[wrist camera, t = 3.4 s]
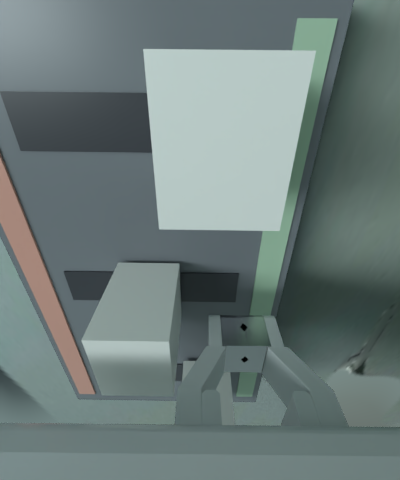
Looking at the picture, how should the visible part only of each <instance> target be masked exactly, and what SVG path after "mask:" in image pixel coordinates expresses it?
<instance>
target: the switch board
mask: <svg viewBox="0 0 400 480" xmlns="http://www.w3.org/2000/svg"><path fill="white" fill-rule="evenodd" d="M353 3H354V0H0V237H1V239H2V241H3V243H4V245H5V247H6V250H7V252H8V254H9V256H10V258H11V260H12V262H13V264H14V266H15V268H16V270H17V273H18V275H19V277H20V279H21V281H22V283H23V285H24V287H25V289H26V291H27V293H28V295H29V298H30V300H31V302H32V304H33V306H34V308H35V310H36V312H37V314H38V316H39V318H40V321H41V323H42V325H43V327H44V329H45V331H46V333H47V335H48V337H49V339H50V341H51V344H52V346H53V348H54V350H55V352H56V354H57V356H58V358H59V360H60V362H61V364H62V367H63V369H64V371H65V373H66V375H67V377H68V379H69V381H70V383H71V385H72V387H73V389H74V392H75V394H76V396H77V398H78V399H93V400H155V401H177V390H178V387H179V386H180V384H181V383H182V375H183V361H197V359H198V358H199V356H200V355H201V353H202V352H203V350H204V349H205V347H206V346H208V319H209V315H233V316H241V315H262V316H274V317H275V319H276V316H277V312H278V308H279V304H280V300H281V296H282V292H283V288H284V284H285V280H286V276H287V272H288V268H289V264H290V260H291V255H292V251H293V247H294V243H295V239H296V235H297V231H298V227H299V223H300V219H301V215H302V211H303V207H304V203H305V198H306V194H307V190H308V186H309V182H310V178H311V174H312V170H313V166H314V162H315V158H316V154H317V150H318V146H319V142H320V137H321V133H322V129H323V125H324V121H325V117H326V113H327V109H328V105H329V101H330V97H331V93H332V89H333V85H334V81H335V76H336V72H337V68H338V64H339V60H340V56H341V52H342V48H343V44H344V40H345V36H346V32H347V28H348V24H349V19H350V15H351V11H352V7H353ZM143 49H204V50H305V51H316V54H315V59H314V64H313V69H312V74H311V79H310V84H309V89H308V94H307V98H306V103H305V108H304V113H303V118H302V123H301V128H300V133H299V138H298V143H297V148H296V153H295V158H294V163H293V168H292V172H291V177H290V182H289V187H288V192H287V197H286V202H285V207H284V212H283V217H282V222H281V227H280V231H240V230H163V229H159V223H158V212H157V200H156V189H155V178H154V166H153V155H152V144H151V132H150V121H149V110H148V98H147V87H146V76H145V64H144V53H143ZM118 263H179V267H180V290H181V314H182V315H181V325H180V336H179V347H178V357H177V368H176V379H175V390H174V397H169V396H106V395H102V394H101V391H100V389H99V386H98V383H97V381H96V378H95V375H94V373H93V370H92V367H91V365H90V362H89V359H88V357H87V354H86V352H85V349H84V346H83V344H82V341H81V340H82V338H83V336H84V334H85V332H86V329H87V327H88V325H89V323H90V321H91V319H92V317H93V315H94V313H95V310H96V308H97V306H98V304H99V302H100V300H101V298H102V296H103V294H104V291H105V289H106V287H107V285H108V283H109V281H110V279H111V277H112V275H113V272H114V270H115V268H116V266H117V264H118ZM230 375H231V386H232V397H233V402H256V398H257V394H258V390H259V386H260V382H261V377H262V373H256V372H230Z"/></svg>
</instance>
